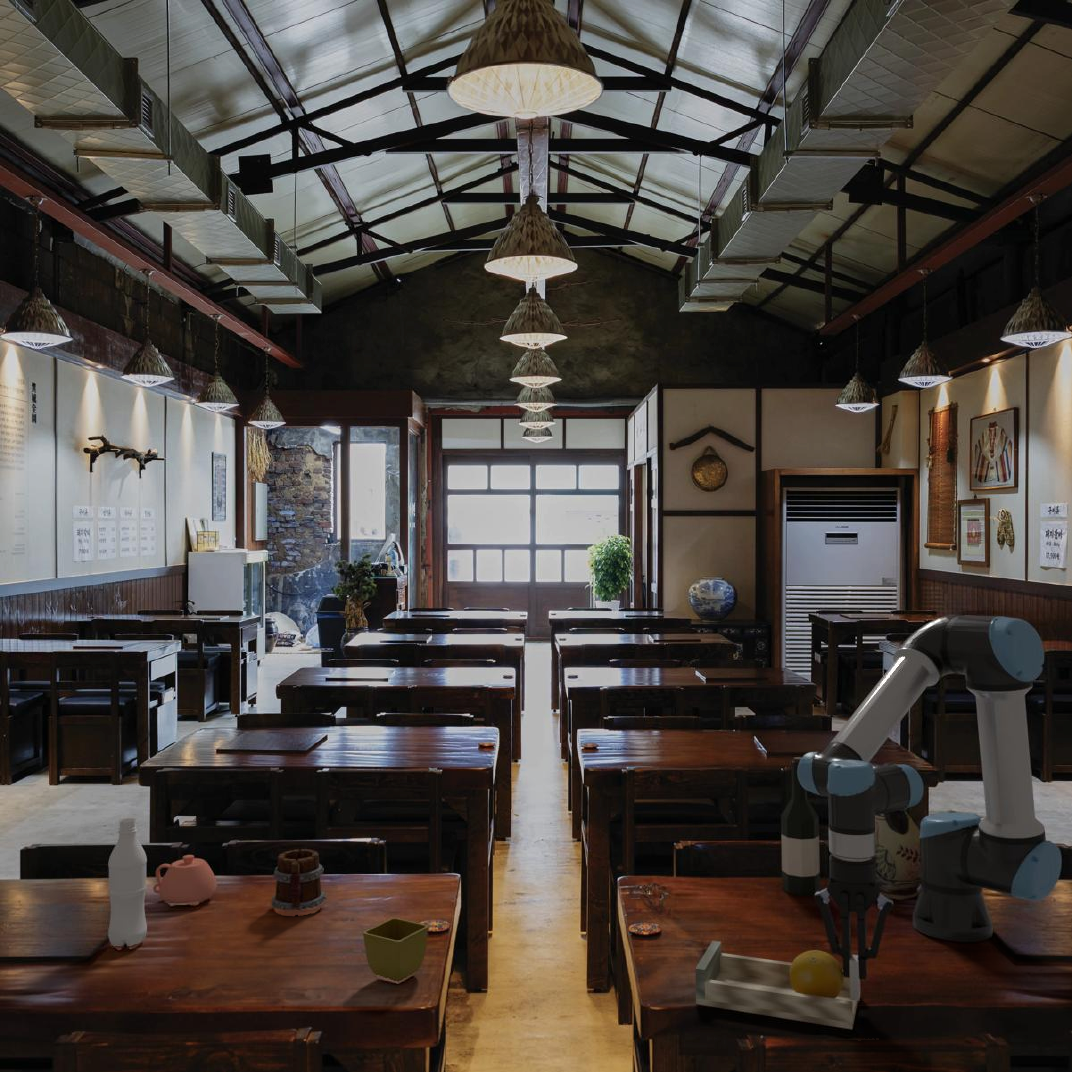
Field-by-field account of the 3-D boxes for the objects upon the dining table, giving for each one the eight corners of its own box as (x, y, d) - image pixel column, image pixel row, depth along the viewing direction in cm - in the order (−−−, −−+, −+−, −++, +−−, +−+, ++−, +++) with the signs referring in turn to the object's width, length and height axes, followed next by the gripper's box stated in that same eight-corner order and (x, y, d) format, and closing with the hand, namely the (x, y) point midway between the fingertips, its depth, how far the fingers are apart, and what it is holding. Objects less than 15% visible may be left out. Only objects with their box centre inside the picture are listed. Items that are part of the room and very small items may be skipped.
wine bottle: (821, 896, 225) (818, 762, 226) (783, 894, 226) (780, 761, 227) (818, 884, 233) (816, 755, 234) (781, 882, 235) (779, 754, 235)
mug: (328, 895, 228) (327, 833, 226) (324, 928, 214) (323, 862, 212) (275, 898, 226) (273, 835, 224) (268, 932, 212) (266, 865, 210)
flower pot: (399, 992, 177) (398, 941, 177) (361, 982, 182) (361, 931, 182) (430, 974, 185) (429, 925, 185) (393, 965, 189) (393, 917, 189)
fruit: (788, 1007, 167) (787, 958, 168) (791, 987, 175) (790, 941, 175) (843, 1014, 165) (843, 964, 165) (844, 993, 172) (843, 946, 173)
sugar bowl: (206, 911, 220) (206, 864, 220) (142, 911, 220) (142, 864, 220) (224, 892, 232) (224, 847, 232) (164, 892, 232) (164, 848, 232)
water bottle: (154, 942, 201) (154, 817, 202) (126, 955, 195) (126, 826, 196) (128, 937, 204) (128, 814, 205) (99, 949, 198) (100, 822, 199)
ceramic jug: (849, 882, 234) (847, 753, 235) (915, 882, 234) (913, 753, 235) (871, 907, 217) (868, 769, 218) (943, 907, 217) (940, 768, 218)
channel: (859, 995, 174) (858, 960, 174) (852, 1029, 162) (851, 991, 162) (713, 973, 184) (712, 940, 184) (695, 1003, 171) (695, 968, 171)
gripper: (894, 852, 169) (897, 993, 169) (815, 845, 174) (817, 982, 174) (892, 865, 162) (895, 1012, 162) (810, 857, 167) (812, 1000, 167)
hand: (855, 997), depth 168 cm, fingers closed
